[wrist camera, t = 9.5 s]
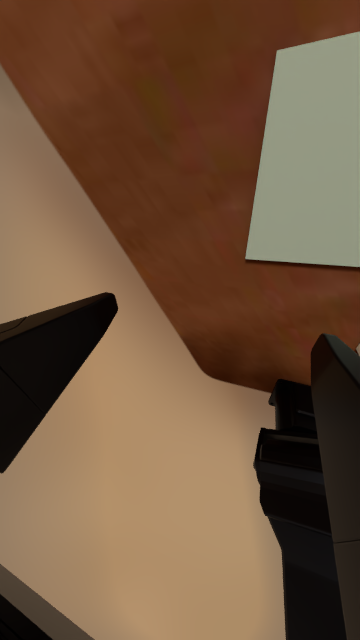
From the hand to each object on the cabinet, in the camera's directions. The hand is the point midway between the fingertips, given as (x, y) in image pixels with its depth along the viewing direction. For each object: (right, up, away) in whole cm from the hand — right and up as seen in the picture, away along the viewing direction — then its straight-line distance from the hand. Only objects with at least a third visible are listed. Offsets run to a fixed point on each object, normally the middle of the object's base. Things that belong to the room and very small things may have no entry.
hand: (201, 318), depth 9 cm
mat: (+11, +10, +5) cm, 15 cm away
